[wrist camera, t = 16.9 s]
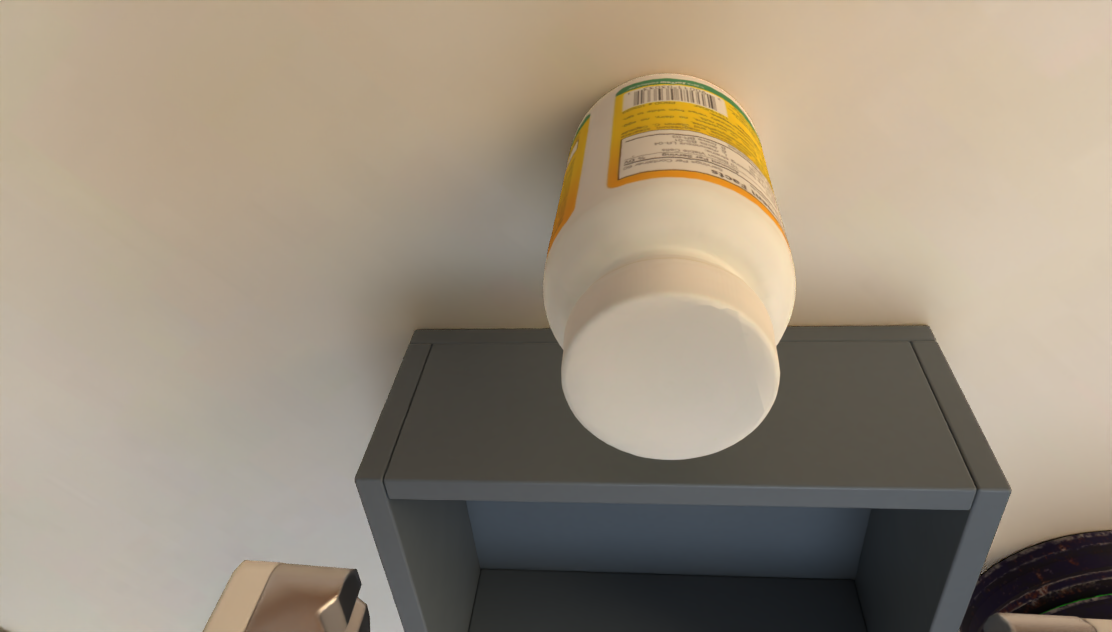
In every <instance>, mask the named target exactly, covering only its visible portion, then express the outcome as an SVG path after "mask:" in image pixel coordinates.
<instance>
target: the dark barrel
mask: <svg viewBox="0 0 1112 632" xmlns="http://www.w3.org/2000/svg"><path fill="white" fill-rule="evenodd" d="M996 613H1017V614H1036V615H1055V616H1074V617H1079V618H1087V619H1106V620H1112V531H1102V532H1091V533H1084V534H1078V535H1072V536H1067V537H1063V538H1059V539H1055V540H1051V541H1048V542H1045V543H1042V544H1039V545H1036V546H1033V547H1030V548H1027V549H1025V550H1023V551H1021V552H1019V553H1017V554H1014V555H1012V556H1010V557H1008V558H1007V559H1005V560H1003V561H1002V562H1000V563H998V564H996V565H995V566H993V567H992V568H991V569H989V570H988V571H987V572H985V573H984V574H983V575H982V576H980V577H979V578H978V581H977V583H976V586H975V589H974V591H973V594H972V597H971V599H970V602H969V604H968V607H967V610H966V612H965V615H964V618H963V620H962V623H961V626H960V628H959V630H960V632H984V631H983V627H984V625H985V623H986V621H987V619H988V618H989V616H991V615H993V614H996Z"/></svg>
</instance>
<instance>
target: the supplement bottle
mask: <svg viewBox="0 0 1112 632" xmlns="http://www.w3.org/2000/svg"><path fill="white" fill-rule="evenodd" d="M795 294H796V279H795V270H794V264H793V259H792V255H791V251H790V248H789V244H788V240H787V237H786V234H785V230H784V226H783V223H782V219H781V216H780V212H779V209H778V205H777V202H776V198H775V195H774V192H773V188H772V185H771V181H770V178H769V174H768V170H767V166H766V162H765V159H764V155H763V151H762V146H761V143H760V140H759V138H758V135H757V132H756V129H755V127H754V125H753V123H752V121H751V119H750V118H749V116H748V115H747V113H746V112H745V110H744V109H743V108H742V107H741V106H740V104H739V103H738V102H737V101H736V100H735V99H734V98H733V97H732V96H730V95H729V94H728V93H727V92H725V91H724V90H722V89H721V88H719V87H717V86H715V85H713V84H711V83H709V82H707V81H705V80H702V79H699V78H696V77H692V76H689V75H682V74H671V73H662V74H652V75H647V76H642V77H639V78H636V79H633V80H630V81H628V82H626V83H623V84H622V85H620V86H618V87H616V88H614V89H613V90H611V91H610V92H608V93H607V94H605V95H604V96H603V97H602V98H601V99H599V100H598V101H597V102H596V103H595V104H594V105H593V107H592V108H591V109H590V110H589V111H588V112H587V114H586V115H585V116H584V118H583V120H582V121H581V123H580V125H579V127H578V129H577V131H576V133H575V136H574V139H573V141H572V145H571V149H570V153H569V157H568V163H567V167H566V172H565V176H564V181H563V186H562V191H561V195H560V200H559V204H558V209H557V214H556V218H555V222H554V226H553V231H552V236H551V239H550V243H549V247H548V253H547V259H546V264H545V270H544V278H543V300H544V307H545V312H546V316H547V319H548V322H549V325H550V328H551V330H552V332H553V334H554V336H555V338H556V340H557V341H558V343H559V345H560V346H561V348H562V349H563V358H562V366H561V378H562V389H563V392H564V395H565V398H566V400H567V402H568V405H569V407H570V409H571V410H572V412H573V414H574V415H575V417H576V418H577V419H578V420H579V422H580V423H581V424H582V425H583V426H584V427H585V428H586V429H587V430H588V431H590V432H591V433H592V434H593V435H595V436H596V437H597V438H598V439H600V440H602V441H603V442H605V443H606V444H608V445H611V446H613V447H615V448H617V449H619V450H621V451H624V452H627V453H630V454H633V455H635V456H639V457H644V458H651V459H661V460H683V459H690V458H696V457H702V456H706V455H710V454H713V453H716V452H719V451H721V450H723V449H726V448H728V447H730V446H732V445H734V444H736V443H737V442H739V441H740V440H742V439H743V438H745V437H746V436H747V435H749V434H750V433H751V432H752V431H754V430H755V429H756V428H757V427H758V426H759V425H760V423H761V422H762V421H763V420H764V418H765V417H766V415H767V414H768V412H769V411H770V409H771V407H772V405H773V403H774V401H775V399H776V396H777V392H778V387H779V381H780V367H779V360H778V354H777V349H776V346H777V344H778V343H779V341H780V339H781V338H782V336H783V334H784V332H785V330H786V328H787V325H788V323H789V321H790V317H791V314H792V311H793V306H794V302H795Z"/></svg>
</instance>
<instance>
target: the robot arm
mask: <svg viewBox="0 0 1112 632" xmlns="http://www.w3.org/2000/svg"><path fill="white" fill-rule="evenodd" d="M360 587H361V581H360V578H359V575H358V572H357V569H348V568H336V567H324V566H311V565H299V564H286V563H280V562H265V561H250V560H244V561H243V562H242V563H241V564H240V565H239V566H238V567H237V568H236V569H235V570H234V572H233V573H232V575H231V577H230V579H229V581H228V583H227V585H226V587H225V589H224V591H223V593H222V595H221V597H220V599H219V600H218V602H217V604H216V606H215V608H214V610H213V612H212V614H211V616H210V618H209V620H208V622H207V624H206V626H205V628H204V630H203V632H370V616H369V611H368V607H367V604H366V603H364V602H363V601H362V600H361V599H359V598H358V597H357V596H358V593H359V590H360ZM983 631H984V632H1112V620H1106V619H1087V618H1079V617H1074V616H1055V615H1036V614H1017V613H996V614H993V615H991V616H989V618H988V619H987V621H986V623H985V625H984V627H983Z"/></svg>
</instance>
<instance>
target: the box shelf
mask: <svg viewBox="0 0 1112 632" xmlns="http://www.w3.org/2000/svg"><path fill="white" fill-rule="evenodd" d="M776 349H777V354H778V360H779V367H780V381H779V387H778V392H777V396H776V399H775V401H774V403H773V405H772V407H771V409H770V411H769V412H768V414H767V415H766V417H765V418H764V420H763V421H762V422H761V423H760V425H759V426H758V427H757V428H756V429H755V430H754V431H752V432H751V433H750V434H749V435H747V436H746V437H745V438H743V439H742V440H740V441H739V442H737V443H736V444H734V445H732V446H730V447H728V448H726V449H723V450H721V451H719V452H716V453H713V454H710V455H706V456H702V457H696V458H690V459H683V460H661V459H651V458H644V457H639V456H635V455H633V454H630V453H627V452H624V451H621V450H619V449H617V448H615V447H613V446H611V445H608V444H606V443H605V442H603V441H602V440H600V439H598V438H597V437H596V436H595V435H593V434H592V433H591V432H590V431H588V430H587V429H586V428H585V427H584V426H583V425H582V424H581V423H580V422H579V420H578V419H577V418H576V417H575V415H574V414H573V412H572V410H571V409H570V407H569V405H568V402H567V400H566V398H565V395H564V392H563V389H562V378H561V366H562V358H563V349H562V348H561V346H560V345H559V343H558V341H557V340H556V338H555V336H554V334H553V332H552V330H551V329H457V330H415V332H414V334H413V336H412V339H411V341H410V345H409V346H408V349H407V351H406V353H405V356H404V358H403V361H402V363H401V366H400V368H399V371H398V373H397V376H396V378H395V381H394V383H393V385H392V388H391V390H390V393H389V395H388V398H387V400H386V403H385V405H384V408H383V410H382V413H381V415H380V417H379V420H378V422H377V425H376V427H375V430H374V432H373V435H372V437H371V440H370V442H369V445H368V447H367V450H366V452H365V454H364V457H363V459H362V462H361V464H360V467H359V469H358V472H357V474H356V477H355V483H356V486H357V489H358V492H359V495H360V498H361V501H362V504H363V507H364V510H365V513H366V516H367V519H368V522H369V525H370V528H371V531H372V534H373V538H374V541H375V544H376V547H377V550H378V553H379V556H380V559H381V562H382V565H383V568H384V571H385V574H386V577H387V580H388V583H389V586H390V589H391V592H392V595H393V598H394V601H395V604H396V607H397V610H398V613H399V616H400V619H401V622H402V625H403V628H404V631H405V632H958V631H959V628H960V626H961V623H962V620H963V618H964V615H965V612H966V610H967V607H968V604H969V602H970V599H971V597H972V594H973V591H974V589H975V586H976V583H977V581H978V578H979V575H980V573H981V570H982V568H983V565H984V562H985V560H986V557H987V554H988V552H989V549H990V547H991V544H992V541H993V539H994V536H995V533H996V531H997V528H998V525H999V523H1000V520H1001V518H1002V515H1003V512H1004V510H1005V507H1006V504H1007V502H1008V499H1009V496H1010V494H1011V487H1010V485H1009V483H1008V481H1007V479H1006V477H1005V475H1004V474H1003V472H1002V470H1001V468H1000V466H999V464H998V462H997V460H996V458H995V456H994V454H993V452H992V450H991V448H990V446H989V444H988V442H987V440H986V438H985V436H984V434H983V432H982V430H981V428H980V426H979V424H978V422H977V420H976V418H975V416H974V414H973V412H972V410H971V408H970V406H969V404H968V402H967V400H966V398H965V396H964V394H963V392H962V390H961V388H960V386H959V384H958V382H957V380H956V378H955V376H954V374H953V372H952V370H951V368H950V366H949V364H948V362H947V360H946V359H945V357H944V355H943V353H942V351H941V349H940V347H939V345H938V343H937V342H936V339H935V337H934V335H933V333H932V331H931V329H930V327H929V326H822V327H787V328H786V330H785V332H784V334H783V336H782V338H781V339H780V341H779V343H778V344H777V346H776Z"/></svg>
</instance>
